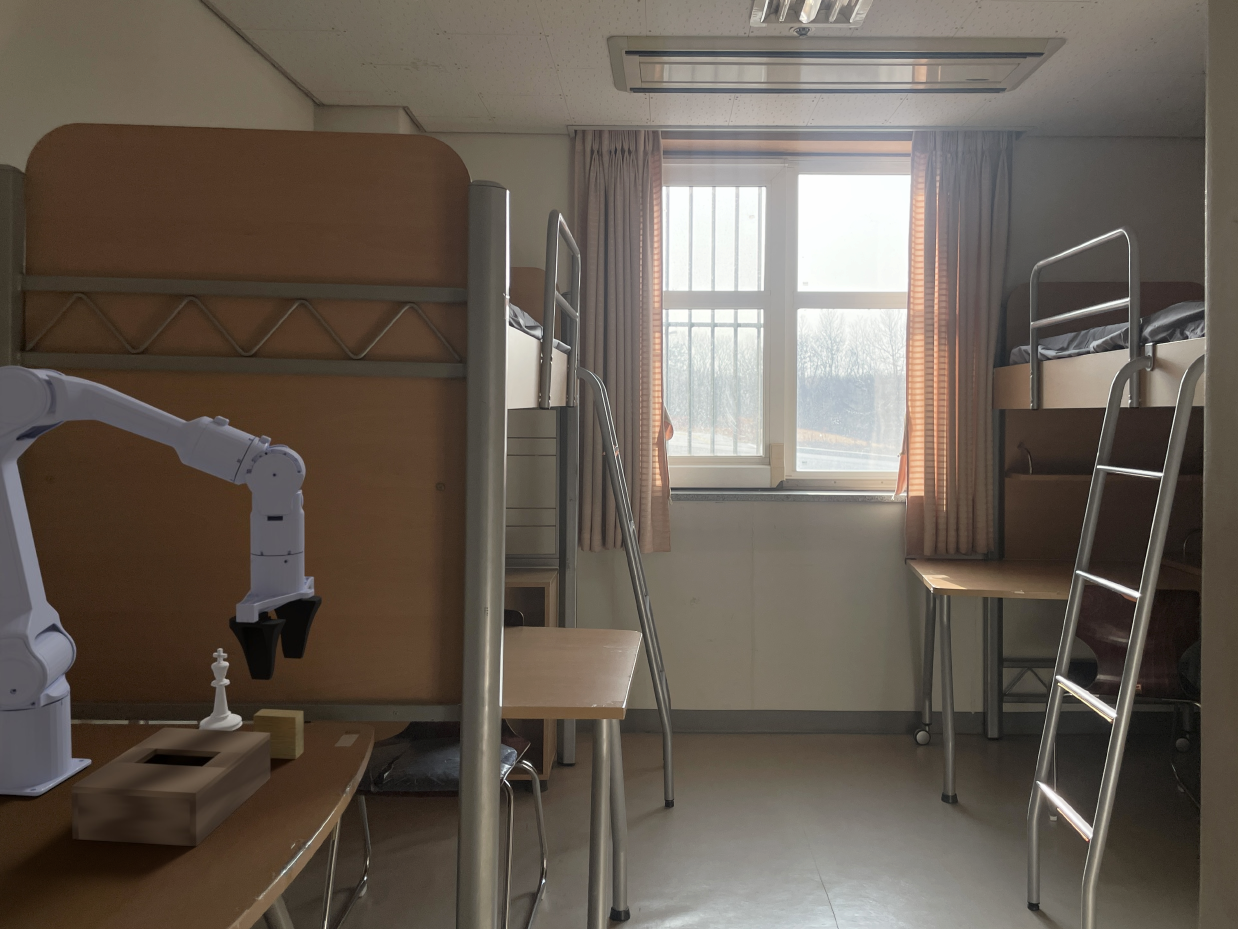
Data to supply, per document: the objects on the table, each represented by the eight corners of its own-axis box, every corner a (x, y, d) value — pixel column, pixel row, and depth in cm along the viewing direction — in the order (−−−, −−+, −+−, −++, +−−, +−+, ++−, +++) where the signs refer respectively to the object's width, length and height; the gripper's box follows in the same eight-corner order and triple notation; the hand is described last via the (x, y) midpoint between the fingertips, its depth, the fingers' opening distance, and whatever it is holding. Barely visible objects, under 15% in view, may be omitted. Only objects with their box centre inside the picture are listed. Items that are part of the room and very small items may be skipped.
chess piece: (225, 736, 100) (224, 656, 100) (189, 732, 101) (188, 653, 101) (250, 721, 105) (250, 645, 104) (216, 717, 106) (216, 642, 105)
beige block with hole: (72, 839, 76) (71, 786, 76) (165, 772, 90) (164, 727, 90) (196, 846, 76) (195, 793, 75) (270, 778, 90) (270, 732, 89)
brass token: (253, 757, 95) (253, 715, 94) (262, 750, 97) (262, 709, 96) (295, 759, 94) (295, 717, 94) (303, 752, 96) (303, 710, 96)
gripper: (281, 565, 86) (281, 691, 87) (337, 542, 101) (337, 650, 102) (216, 562, 87) (218, 687, 88) (282, 540, 101) (282, 648, 102)
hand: (278, 667), depth 95 cm, fingers open, 7 cm apart
